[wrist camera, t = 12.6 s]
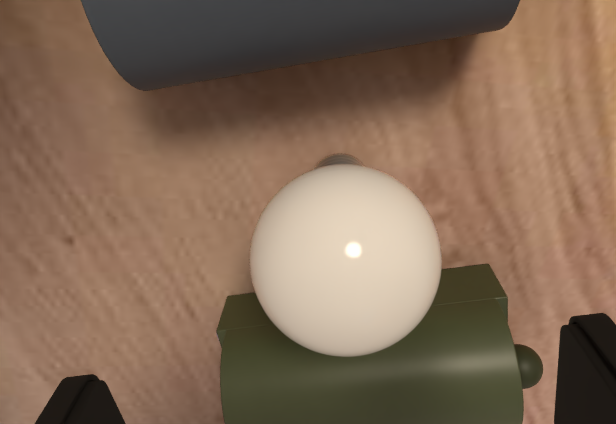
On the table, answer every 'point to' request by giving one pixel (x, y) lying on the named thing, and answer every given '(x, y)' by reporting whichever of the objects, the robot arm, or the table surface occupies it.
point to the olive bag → (383, 366)
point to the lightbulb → (345, 259)
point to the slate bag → (270, 32)
